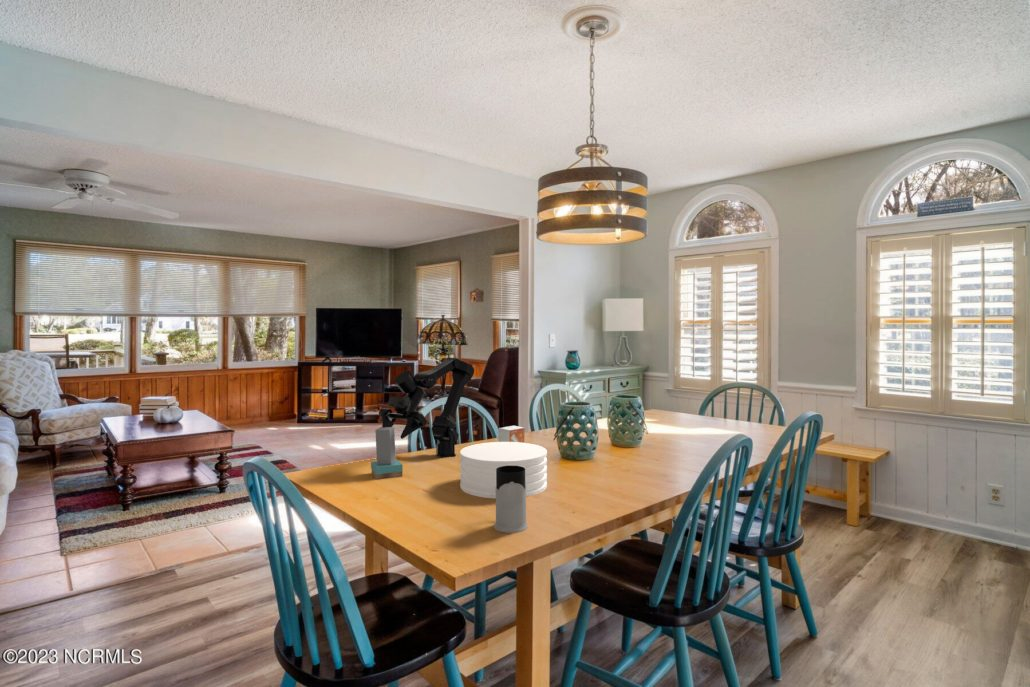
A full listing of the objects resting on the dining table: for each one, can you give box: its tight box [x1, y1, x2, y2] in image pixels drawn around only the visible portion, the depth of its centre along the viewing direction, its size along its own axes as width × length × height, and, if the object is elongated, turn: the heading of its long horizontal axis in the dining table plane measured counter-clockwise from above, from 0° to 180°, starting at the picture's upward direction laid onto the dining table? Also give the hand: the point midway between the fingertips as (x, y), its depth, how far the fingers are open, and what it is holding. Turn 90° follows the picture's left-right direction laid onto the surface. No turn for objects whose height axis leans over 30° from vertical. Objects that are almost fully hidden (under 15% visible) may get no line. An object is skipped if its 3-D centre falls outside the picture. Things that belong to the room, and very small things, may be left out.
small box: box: [497, 425, 525, 443], centre depth 216 cm, size 8×6×13 cm
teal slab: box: [370, 458, 404, 474], centre depth 198 cm, size 9×9×2 cm
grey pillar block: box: [375, 426, 397, 465], centre depth 198 cm, size 5×5×12 cm
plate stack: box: [459, 441, 548, 499], centre depth 185 cm, size 28×28×12 cm
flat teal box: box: [371, 469, 403, 481], centre depth 198 cm, size 9×9×2 cm
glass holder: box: [493, 466, 529, 534], centre depth 150 cm, size 9×14×15 cm, turn 5°
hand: (391, 436), depth 200 cm, fingers open, 9 cm apart
